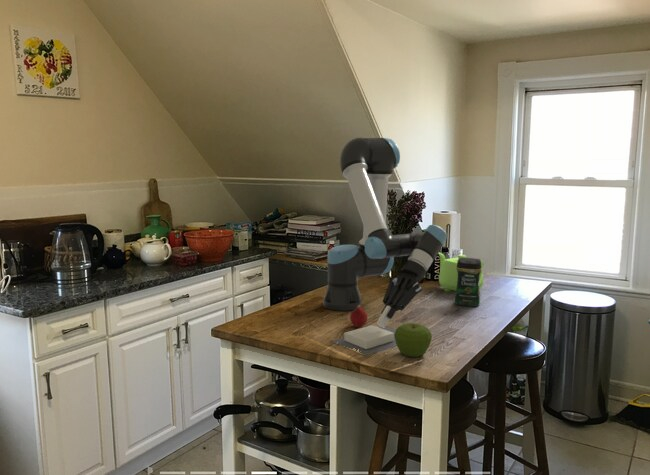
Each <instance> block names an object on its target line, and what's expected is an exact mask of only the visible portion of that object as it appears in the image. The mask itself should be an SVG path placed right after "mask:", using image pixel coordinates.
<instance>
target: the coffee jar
mask: <svg viewBox="0 0 650 475" xmlns="http://www.w3.org/2000/svg"><path fill="white" fill-rule="evenodd" d="M481 261H482V260H481V258H474V257H466V258H459V259H458V262H457V267H456V269H457V272H458V280H457V288H456V291H455V294H454V303H455V304H456V305H458V306H463V307H465V306H466V307H477V306H479V305H480V303H481V302H480V301H481V297H480V296H481V292H480V291H481V289H479V278H480V273H481V270H482V271H483V267H481Z"/></svg>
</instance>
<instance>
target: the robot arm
mask: <svg viewBox="0 0 650 475" xmlns="http://www.w3.org/2000/svg"><path fill="white" fill-rule="evenodd" d="M400 161H401V152H400V149H399V146H398V145H397V143H396V141H394V140H393V139H392V138H388V137H387V138H386V137H355V138H352V139H351V140H349V141H347V143H345V144H344V146H343V148H342V150H341V152H340V156H339V168H340V171H341V174H342V177H343V178H345V179H346V181H347V183H348V186H349V189H350V191H351V193H352V197H353V200H354V203H355V205H356V208H357V211H358V214H359V216H360V219H361V222H362V224H363V233H362V238H361V239H360V240H359V241H358V246H357V245H356V244H349V243H348V244H340V245H336V246H334V247H333V246H332V248H330V249H329V250H328V253H327V259H326V262H327V288H326V291H325V294H324V296H323V300H322V301H323V302H322V306H323V307H324V308H325V309H328V310H331V311H347V312H348V311H353V310H354V309H356V308H357V307H358V306H359V305H360V306H361V307H362V306H363V300H362V296H361V292H360V289H359V287H358V285H359V284H358V280H359V279H358V278H367V277H373V276H374V277H375V276H376V277H378V276H382V275H385V274H387V273H388V272H390V271H391V269H392V268H393V265H394V258H397V257H404V256H405V257H407V256H408V258H407V260H406V261H405V263H404V264H403V266H402V267H401V270H400V273H399V274H398V275H397V277H394V278H393V277H389V278H388V279H389V280H388V282H389V283H388V285H387V289H386V291H385V293H384V296H383V299H382V303H383V304H384V308H383V309H382V310H381V313H380V316H379V318H378V320H377V321H376V323H377V324H378V325H379V327H383V328H384V327H385V326H386V327H387V324H388V322H389V321H390V320H391V319H393V317H394V315H395V314H396V312H398V311H401V312H402V311H403V310H405V308H406V307H407V306H408V305H409V304H410V302H412V300H413V299H414V298H415V297H416V296H417V295H418V294H420V292H422V291H423V288H422V287H421V285H420V282H421V281H423V279H424V278H425V276H426V274H427V271H428V270H429V268H430V267H431V265H432V264H433V262H434V260H435V259H436V257H437V255H439V254H438V252H440V251H441V249H442V248H443V247H444V245H445V242H446V240H447V238H448V234H447V232H446V231H445V230H444V228H442V227H441V226H438V225H436V224H429V225H428V226H427V227H426V228H425V229H424V232H419V233H418V232H417V233H402V234H392V235H391V233H390V231H389V229H388V225H387V220H386V219H387V206H388V205H387V203H388V190H389V189H388V188H389V178H390V177H391V176H392V175H393V173H394V170H395V169H396V168H397V167H398V166H399V164H400Z"/></svg>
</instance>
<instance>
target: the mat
mask: <svg viewBox="0 0 650 475" xmlns="http://www.w3.org/2000/svg"><path fill="white" fill-rule="evenodd" d="M379 328H381V329H384V330H387V331H390V332H393V333H394V335H395V331H396V329H394V328H391V327H389V326H387V325H386V326H385V327H384V328H383V327H381V326H379ZM331 341H333V342H332V343H333V344H335V343H337V342H338V343H337V344H336V345H338V344H339V345H338V346H340V345H341V346H340V347H342V346H345V347H348V348H351V349H353V348H355V349H356V351H357V350H358V349H359V352H360V351H361V352H360V353H362V354H364V355H366V356H369V355H373V354H375V353H380V352H382V351H385V350H388V349H391V348H395V347H398V346H397V344H396V341H395V336H394V341H391V342H388V343H385V344H382V345H378V346H375V347H372V348H369V349H364V348H362V347H359V346H357V345H354V344H352V343H350V342H347V341H345V340H344V337H339V338H337V339H333V340H331ZM345 347H344V348H345ZM366 356H365V357H366Z"/></svg>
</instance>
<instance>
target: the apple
mask: <svg viewBox="0 0 650 475" xmlns="http://www.w3.org/2000/svg"><path fill="white" fill-rule="evenodd" d="M395 330H396V331H395V335H394V336H395V341H396V344H397V346H396V347H397V348H398V351H399V352H400V353H401V354H403V355H404V356H406V357H409V358H418V357H421V356H423V355H425V354H426V353H427V350H428V349H429V347H430V345H431V342H432V338H433V335H432V332H431V330H430V328H428V327H427V326H425V325H423V324H419V323H414V322H413V323H412V322H409V323H404V324H401V325H400V326H397V327H396V329H395Z"/></svg>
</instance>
